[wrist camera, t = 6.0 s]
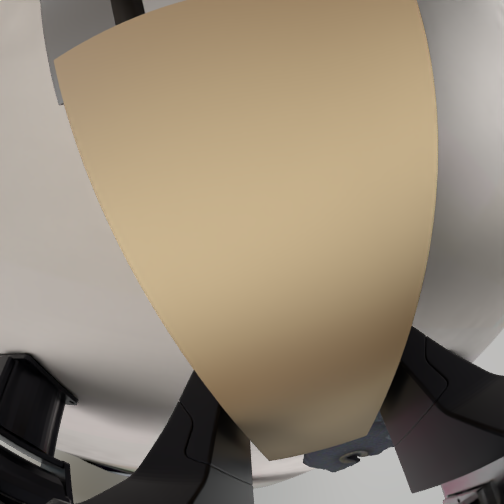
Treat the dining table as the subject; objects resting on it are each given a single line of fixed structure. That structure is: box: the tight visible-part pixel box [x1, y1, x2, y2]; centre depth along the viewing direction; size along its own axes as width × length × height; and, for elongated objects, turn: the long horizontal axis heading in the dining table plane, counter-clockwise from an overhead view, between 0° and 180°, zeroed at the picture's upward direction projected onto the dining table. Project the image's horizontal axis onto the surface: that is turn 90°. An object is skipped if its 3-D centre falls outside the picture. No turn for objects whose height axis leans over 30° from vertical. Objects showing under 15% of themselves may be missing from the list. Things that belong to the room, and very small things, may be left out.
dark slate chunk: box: [303, 411, 394, 472], centre depth 23 cm, size 15×22×5 cm
